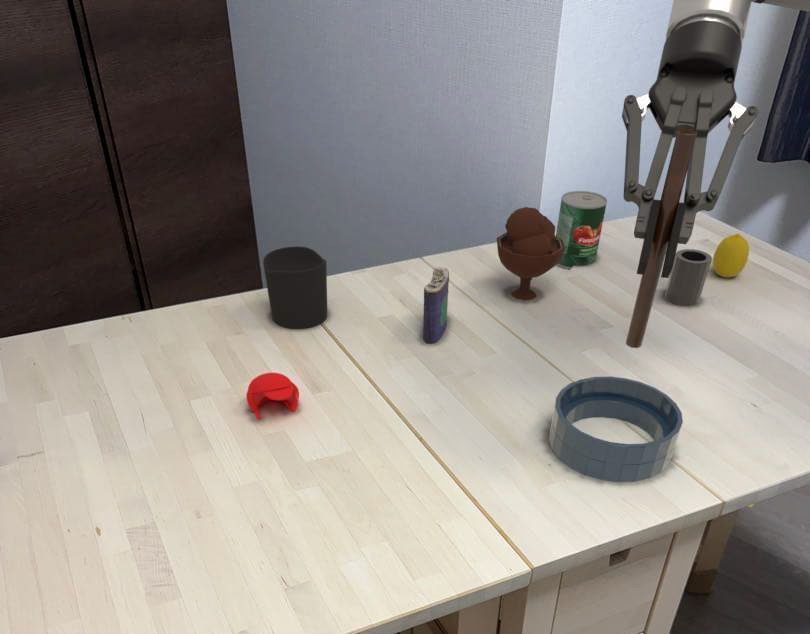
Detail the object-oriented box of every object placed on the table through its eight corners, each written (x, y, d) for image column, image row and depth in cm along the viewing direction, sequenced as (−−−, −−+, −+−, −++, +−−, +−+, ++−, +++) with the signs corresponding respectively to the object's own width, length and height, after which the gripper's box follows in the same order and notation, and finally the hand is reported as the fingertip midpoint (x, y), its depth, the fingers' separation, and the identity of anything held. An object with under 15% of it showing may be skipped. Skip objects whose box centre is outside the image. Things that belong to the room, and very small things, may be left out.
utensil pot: (700, 299, 126) (714, 253, 120) (694, 313, 122) (708, 265, 116) (667, 292, 127) (679, 246, 122) (660, 306, 124) (672, 259, 118)
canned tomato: (584, 273, 133) (596, 210, 125) (544, 263, 136) (553, 200, 128) (602, 258, 137) (614, 196, 130) (562, 248, 140) (572, 187, 133)
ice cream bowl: (549, 318, 120) (563, 224, 110) (482, 306, 123) (490, 213, 112) (562, 291, 127) (577, 200, 117) (499, 280, 130) (508, 191, 120)
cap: (238, 411, 100) (231, 372, 96) (273, 394, 103) (268, 355, 99) (275, 436, 96) (270, 396, 92) (310, 417, 99) (307, 378, 95)
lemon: (739, 288, 129) (755, 242, 124) (706, 283, 130) (720, 237, 125) (740, 275, 133) (755, 230, 127) (708, 270, 134) (721, 225, 129)
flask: (432, 319, 119) (435, 253, 112) (450, 322, 119) (455, 256, 111) (420, 347, 113) (422, 279, 105) (439, 350, 112) (442, 282, 105)
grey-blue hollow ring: (680, 434, 97) (693, 394, 93) (654, 501, 87) (667, 460, 83) (568, 404, 102) (576, 365, 98) (532, 465, 92) (538, 424, 88)
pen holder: (336, 310, 121) (332, 249, 114) (321, 337, 114) (316, 275, 108) (280, 304, 122) (273, 244, 115) (262, 332, 116) (254, 269, 109)
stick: (643, 342, 85) (698, 130, 70) (639, 349, 84) (695, 135, 69) (627, 338, 86) (679, 127, 70) (623, 345, 84) (675, 132, 69)
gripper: (769, 74, 77) (722, 294, 77) (624, 62, 80) (578, 275, 80) (792, 21, 70) (740, 265, 70) (632, 10, 73) (582, 245, 73)
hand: (654, 270), depth 75 cm, fingers closed on stick, 2 cm apart
